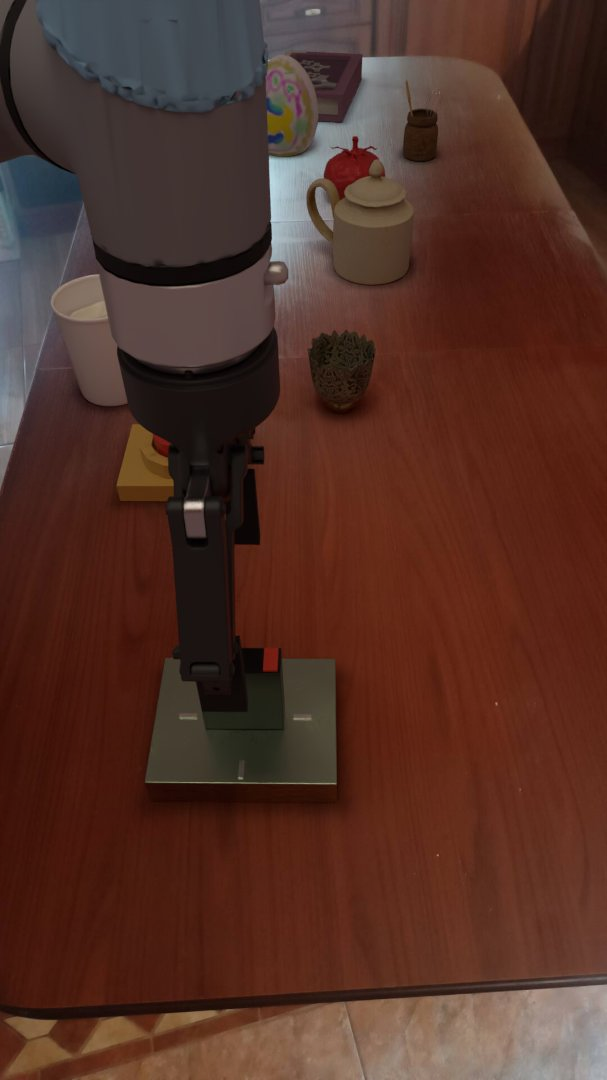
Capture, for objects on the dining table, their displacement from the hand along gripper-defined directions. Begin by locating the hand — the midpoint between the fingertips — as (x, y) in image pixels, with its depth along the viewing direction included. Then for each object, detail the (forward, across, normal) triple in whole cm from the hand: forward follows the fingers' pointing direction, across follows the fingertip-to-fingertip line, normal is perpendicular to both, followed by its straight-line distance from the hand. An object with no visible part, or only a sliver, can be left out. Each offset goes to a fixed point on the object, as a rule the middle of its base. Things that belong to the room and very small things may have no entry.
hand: (234, 616), depth 52 cm
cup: (+16, +43, -8) cm, 47 cm away
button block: (+15, +32, +9) cm, 37 cm away
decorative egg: (+15, +120, +1) cm, 121 cm away
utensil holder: (+15, +116, -23) cm, 119 cm away
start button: (+12, +32, +9) cm, 35 cm away
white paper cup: (+16, +47, +19) cm, 53 cm away
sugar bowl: (+16, +76, -11) cm, 79 cm away
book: (+15, +146, -4) cm, 147 cm away
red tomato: (+15, +99, -11) cm, 101 cm away
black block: (+13, 0, 0) cm, 13 cm away
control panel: (+16, 0, 0) cm, 16 cm away
